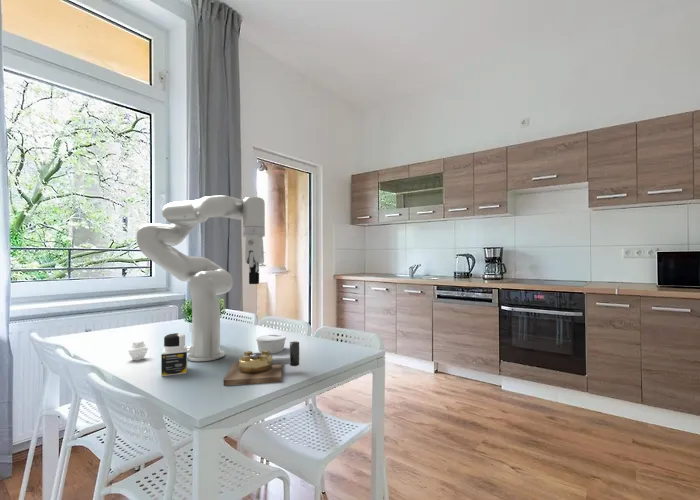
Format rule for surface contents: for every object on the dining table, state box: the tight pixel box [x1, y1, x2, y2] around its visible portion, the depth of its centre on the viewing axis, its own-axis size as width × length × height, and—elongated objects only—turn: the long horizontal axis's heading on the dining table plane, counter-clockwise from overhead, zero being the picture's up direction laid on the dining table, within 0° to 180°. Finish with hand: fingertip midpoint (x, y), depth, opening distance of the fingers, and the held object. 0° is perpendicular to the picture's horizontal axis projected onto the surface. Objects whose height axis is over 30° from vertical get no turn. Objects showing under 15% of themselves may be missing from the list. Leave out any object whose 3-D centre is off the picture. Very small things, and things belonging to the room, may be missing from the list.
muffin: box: [127, 339, 149, 361], centre depth 129 cm, size 6×6×7 cm
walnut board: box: [223, 361, 284, 386], centre depth 111 cm, size 16×18×2 cm
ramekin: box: [255, 334, 287, 355], centre depth 139 cm, size 11×11×5 cm
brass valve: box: [238, 340, 300, 373], centre depth 112 cm, size 18×10×7 cm, turn 97°
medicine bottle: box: [160, 332, 188, 377], centre depth 114 cm, size 7×7×12 cm
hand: (254, 283), depth 126 cm, fingers closed
